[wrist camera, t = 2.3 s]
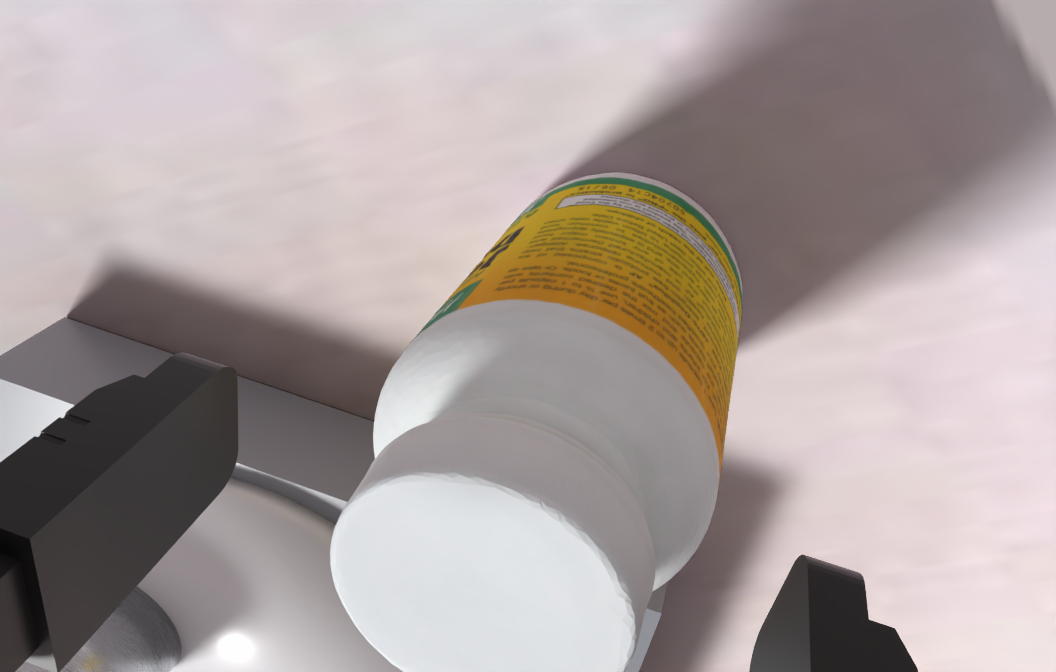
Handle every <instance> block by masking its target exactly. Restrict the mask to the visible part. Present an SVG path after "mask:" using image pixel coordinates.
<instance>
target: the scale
mask: <svg viewBox="0 0 1056 672" xmlns="http://www.w3.org/2000/svg"><path fill="white" fill-rule="evenodd" d="M173 355H174V354H172V353H169V352H166V351H163V350H160V349H157V348H154V347H151V346H148V345H145V344H142V343H139V342H137V341H134V340H131V339H128V338H125V337H122V336H119V335H116V334H113V333H110V332H107V331H104V330H101V329H98V328H95V327H92V326H89V325H86V324H83V323H80V322H77V321H74V320H71V319H68V318H65V317H64V318H63V319H61V320H59V321H58V322H56V323H54V324H53V325H51V326H49V327H48V328H46V329H44V330H43V331H41V332H39V333H38V334H36V335H34V336H33V337H31V338H29V339H28V340H26V341H24V342H23V343H21V344H19V345H18V346H16V347H14V348H13V349H11V350H9V351H7V352H6V353H4V354H2V355H1V356H0V462H1V461H3V460H4V459H5V458H7V457H8V456H9V455H11V454H12V453H13V452H15V451H16V450H17V449H18V448H20V447H21V446H22V445H24V444H25V443H26V442H28V441H29V440H30V439H32V438H33V437H34V436H36V437H39V436H40V434H41V431H42V430H43V429H45V428H46V427H47V426H49V425H50V424H51V423H52V422H54V421H55V420H56V419H58V418H59V417H61V418H64V416H65V413H66V412H67V411H68V410H69V409H71V408H72V407H73V406H75V405H76V404H77V403H79V402H80V401H81V400H83V399H84V398H85V397H86V396H88V395H89V394H90V393H92V392H93V391H94V390H96V389H99V388H101V387H104V386H106V385H109V384H111V383H114V382H116V381H119V380H121V379H124V378H126V377H129V376H131V375H137V376H140V377H143V378H145V377H146V376H147V375H149V374H150V373H151V372H152V371H154V370H155V369H156V368H157V367H159V366H160V365H161V364H162V363H164V362H165V361H166V360H167V359H169V358H170V357H171V356H173ZM237 382H238V457H237V461H236V465H235V468H234V470H233V473H232V475H231V477H230V479H229V481H228V483H227V484H226V486H225V487H224V489H223V490H222V491H221V493H220V494H219V495H218V496H217V497H216V498H215V499H214V501H213V502H212V503H211V504H210V505H209V506H208V507H207V508H206V510H205V511H204V512H203V513H202V514H201V515H200V516H199V517H198V518H197V520H196V521H195V522H194V523H193V524H192V525H191V526H190V527H189V528H188V530H187V531H186V532H185V533H184V534H183V535H182V536H181V537H180V538H179V540H178V541H177V542H176V543H175V544H174V545H173V546H172V547H171V549H170V550H169V551H168V552H167V553H166V554H165V555H164V556H163V557H162V559H161V560H160V561H159V562H158V563H157V564H156V565H155V566H154V567H153V569H152V570H151V571H150V572H149V573H148V574H147V575H146V576H145V578H144V579H143V580H142V581H141V582H140V583H139V584H138V585H137V587H138V588H140V589H141V590H142V591H144V592H145V593H146V594H148V595H149V596H150V597H151V598H152V599H153V600H154V601H155V602H157V603H158V604H159V605H160V607H161V608H162V609H163V610H164V611H165V612H166V614H167V615H168V616H169V618H170V619H171V621H172V622H173V624H174V626H175V627H176V630H177V632H178V634H179V637H180V641H181V656H180V659H179V661H178V662H177V664H176V665H175V666H174V667H173V669H172V670H171V671H170V672H403V671H402V670H400V669H399V668H397V667H396V666H394V665H393V664H391V663H390V662H389V661H388V660H387V659H386V658H385V657H384V656H383V655H382V654H381V653H379V652H378V651H377V650H376V649H375V648H374V647H373V646H372V645H371V644H370V643H369V642H368V641H367V640H366V638H365V637H364V636H363V635H362V633H361V632H360V631H359V630H358V628H357V627H356V626H355V624H354V623H353V621H352V619H351V618H350V616H349V614H348V613H347V611H346V609H345V607H344V606H343V604H342V602H341V600H340V598H339V595H338V593H337V591H336V588H335V585H334V582H333V577H332V571H331V565H330V547H331V540H332V536H333V532H334V528H335V525H336V523H337V521H338V519H339V517H340V515H341V513H342V511H343V509H344V507H345V506H346V504H347V503H348V501H349V500H350V498H351V497H352V495H353V494H354V492H355V491H356V489H357V487H358V486H359V484H360V483H361V481H362V480H363V478H364V477H365V475H366V474H367V472H368V470H369V468H370V466H371V464H372V462H373V461H374V460H375V455H374V446H373V430H374V421H371V420H368V419H365V418H362V417H359V416H356V415H353V414H350V413H347V412H344V411H341V410H338V409H335V408H332V407H329V406H326V405H323V404H320V403H317V402H314V401H311V400H308V399H306V398H303V397H300V396H297V395H294V394H291V393H288V392H285V391H282V390H279V389H276V388H273V387H270V386H267V385H264V384H261V383H258V382H255V381H252V380H249V379H246V378H243V377H240V376H237ZM667 584H668V581H667V582H666V583H665V584H663V585H662V586H660V587H659V588H658V589H656V590H654V591H653V592H652V595H651V598H650V600H649V602H648V604H647V607H646V611H645V615H644V619H643V624H642V628H641V632H640V636H639V640H638V644H637V647H636V651H635V653H634V655H633V658H632V660H631V662H630V663H629V665H628V667H627V669H626V671H625V672H639V670H640V668H641V665H642V663H643V660H644V658H645V655H646V653H647V650H648V648H649V645H650V642H651V640H652V637H653V635H654V632H655V630H656V627H657V625H658V622H659V620H660V617H661V615H662V610H663V605H664V600H665V595H666V589H667Z"/></svg>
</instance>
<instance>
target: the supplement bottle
mask: <svg viewBox="0 0 1056 672" xmlns="http://www.w3.org/2000/svg"><path fill="white" fill-rule="evenodd" d="M742 306H743V290H742V281H741V276H740V272H739V268H738V265H737V262H736V259H735V257H734V254H733V252H732V249H731V247H730V245H729V243H728V241H727V239H726V237H725V236H724V234H723V232H722V231H721V229H720V228H719V226H718V225H717V224H716V222H715V221H714V220H713V219H712V217H711V216H710V215H709V214H708V213H707V212H706V211H705V210H704V209H703V208H702V207H701V206H700V205H698V204H697V203H696V202H695V201H694V200H692V199H691V198H690V197H688V196H687V195H685V194H683V193H682V192H680V191H679V190H677V189H675V188H673V187H671V186H670V185H667V184H665V183H662V182H660V181H658V180H654V179H650V178H647V177H643V176H639V175H636V174H630V173H620V172H612V173H603V174H595V175H588V176H584V177H581V178H578V179H574V180H571V181H569V182H566V183H564V184H561V185H559V186H557V187H555V188H553V189H551V190H550V191H548V192H546V193H545V194H543V195H542V196H540V197H539V198H538V199H536V200H535V201H534V202H533V203H531V204H530V205H529V206H528V207H527V208H526V209H525V210H524V211H523V212H522V213H521V214H520V216H519V217H518V218H517V219H516V220H515V221H514V222H513V223H512V225H511V226H510V227H509V228H508V229H507V230H506V232H505V233H504V234H503V235H502V237H501V238H500V239H499V240H498V241H497V243H496V244H495V245H494V246H493V247H492V248H491V250H490V251H489V252H488V253H487V254H486V255H485V257H484V258H483V260H482V261H481V262H480V263H479V264H478V265H477V266H476V267H475V268H474V269H473V271H472V272H471V273H470V275H469V276H468V277H467V278H466V279H465V280H464V281H463V283H462V284H461V285H460V286H459V287H458V288H457V289H456V291H455V292H454V293H453V294H452V295H451V296H450V297H449V299H448V300H447V301H446V302H445V303H444V305H443V306H442V307H441V308H440V309H439V310H438V311H437V312H436V314H435V315H434V316H433V317H432V319H431V320H430V321H429V322H428V323H427V324H426V325H425V327H424V328H423V329H422V330H421V331H420V333H419V334H418V335H417V336H416V337H415V338H414V339H413V340H412V342H411V343H410V344H409V345H408V347H407V348H406V349H405V350H404V352H403V353H402V355H401V356H400V358H399V359H398V360H397V362H396V363H395V365H394V366H393V367H392V369H391V371H390V373H389V375H388V377H387V379H386V381H385V384H384V386H383V388H382V390H381V393H380V397H379V400H378V404H377V408H376V413H375V419H374V430H373V446H374V455H375V460H374V461H373V462H372V464H371V466H370V468H369V470H368V472H367V474H366V475H365V477H364V478H363V480H362V481H361V483H360V484H359V486H358V487H357V489H356V491H355V492H354V494H353V495H352V497H351V498H350V500H349V501H348V503H347V504H346V506H345V507H344V509H343V511H342V513H341V515H340V517H339V519H338V521H337V523H336V525H335V528H334V532H333V536H332V540H331V547H330V565H331V571H332V577H333V582H334V585H335V588H336V591H337V593H338V595H339V598H340V600H341V602H342V604H343V606H344V607H345V609H346V611H347V613H348V614H349V616H350V618H351V619H352V621H353V623H354V624H355V626H356V627H357V628H358V630H359V631H360V632H361V633H362V635H363V636H364V637H365V638H366V640H367V641H368V642H369V643H370V644H371V645H372V646H373V647H374V648H375V649H376V650H377V651H378V652H379V653H381V654H382V655H383V656H384V657H385V658H386V659H387V660H388V661H389V662H390V663H391V664H393V665H394V666H396V667H397V668H399V669H400V670H402V671H403V672H625V671H626V669H627V667H628V665H629V663H630V662H631V660H632V658H633V655H634V653H635V651H636V647H637V644H638V640H639V636H640V632H641V628H642V624H643V619H644V615H645V611H646V607H647V604H648V602H649V600H650V598H651V595H652V592H653V591H654V590H656V589H658V588H659V587H660V586H662V585H663V584H665V583H666V582H667V581H669V580H670V579H671V578H672V577H673V576H674V575H675V574H677V573H678V572H679V571H680V570H681V569H682V568H683V566H684V565H685V564H686V563H687V562H688V561H689V560H690V558H691V557H692V556H693V554H694V553H695V552H696V550H697V548H698V547H699V545H700V543H701V542H702V540H703V538H704V536H705V534H706V532H707V530H708V527H709V524H710V522H711V518H712V515H713V512H714V509H715V504H716V499H717V494H718V489H719V483H720V474H721V466H722V458H723V450H724V442H725V434H726V426H727V418H728V411H729V403H730V396H731V389H732V383H733V376H734V369H735V360H736V353H737V346H738V339H739V333H740V326H741V319H742Z"/></svg>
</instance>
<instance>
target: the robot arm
mask: <svg viewBox="0 0 1056 672" xmlns="http://www.w3.org/2000/svg"><path fill="white" fill-rule="evenodd" d="M237 457H238V382H237V375H236V372H235V370H234V369H233V368H231V367H228V366H225V365H222V364H219V363H216V362H213V361H210V360H207V359H204V358H201V357H198V356H194V355H191V354H188V353H185V352H180V353H176V354H174V355H173V356H171V357H170V358H169V359H167V360H166V361H165V362H164V363H162V364H161V365H160V366H159V367H157V368H156V369H155V370H154V371H152V372H151V373H150V374H149V375H147V376H146V377H145V378H143V377H140V376H137V375H131V376H129V377H126V378H124V379H121V380H119V381H116V382H114V383H111V384H109V385H106V386H104V387H101V388H99V389H96V390H94V391H93V392H92V393H90V394H89V395H88V396H86V397H85V398H84V399H83V400H81V401H80V402H79V403H77V404H76V405H75V406H73V407H72V408H71V409H69V410H68V411H67V412H66V413H65V416H64V418H61V417H59V418H58V419H56V420H55V421H54V422H52V423H51V424H50V425H49V426H47V427H46V428H45V429H43V430H42V431H41V434H40V436H39V437H36V436H34V437H33V438H32V439H30V440H29V441H28V442H26V443H25V444H24V445H22V446H21V447H20V448H18V449H17V450H16V451H15V452H13V453H12V454H11V455H9V456H8V457H7V458H5V459H4V460H3V461H1V462H0V672H15V671H16V670H17V669H18V668H19V667H20V666H21V665H22V664H23V663H24V662H25V661H26V662H28V663H31V664H33V665H36V666H38V667H41V668H44V669H46V670H49V671H51V672H60V671H61V670H62V669H63V668H64V667H65V666H66V664H67V663H68V662H69V661H70V660H71V659H72V658H73V657H74V656H75V654H76V653H77V652H78V651H79V650H80V649H81V648H82V647H83V646H84V644H85V643H86V642H87V641H88V640H89V639H90V638H91V637H92V635H93V634H94V633H95V632H96V631H97V630H98V629H99V628H100V627H101V625H102V624H103V623H104V622H105V621H106V620H107V619H108V618H109V617H110V615H111V614H112V613H113V612H114V611H115V610H116V609H117V608H118V606H119V605H120V604H121V603H122V602H123V601H124V600H125V599H126V598H127V596H128V595H129V594H130V593H131V592H132V591H133V590H134V589H135V588H136V586H137V585H138V584H139V583H140V582H141V581H142V580H143V579H144V578H145V576H146V575H147V574H148V573H149V572H150V571H151V570H152V569H153V567H154V566H155V565H156V564H157V563H158V562H159V561H160V560H161V559H162V557H163V556H164V555H165V554H166V553H167V552H168V551H169V550H170V549H171V547H172V546H173V545H174V544H175V543H176V542H177V541H178V540H179V538H180V537H181V536H182V535H183V534H184V533H185V532H186V531H187V530H188V528H189V527H190V526H191V525H192V524H193V523H194V522H195V521H196V520H197V518H198V517H199V516H200V515H201V514H202V513H203V512H204V511H205V510H206V508H207V507H208V506H209V505H210V504H211V503H212V502H213V501H214V499H215V498H216V497H217V496H218V495H219V494H220V493H221V491H222V490H223V489H224V487H225V486H226V484H227V483H228V481H229V479H230V477H231V475H232V473H233V470H234V468H235V465H236V461H237ZM749 672H918V670H917V667H916V665H915V664H914V662H913V660H912V658H911V656H910V655H909V653H908V651H907V649H906V648H905V646H904V644H903V642H902V640H901V639H900V637H899V635H898V633H897V632H896V630H895V628H892V627H889V626H886V625H883V624H880V623H877V622H874V621H871V620H869V618H868V609H867V600H866V591H865V583H864V579H863V576H862V575H861V574H860V573H858V572H855V571H852V570H849V569H846V568H842V567H839V566H836V565H833V564H830V563H827V562H824V561H821V560H818V559H815V558H812V557H809V556H805V555H801V556H799V557H798V558H797V560H796V561H795V563H794V565H793V566H792V568H791V570H790V572H789V574H788V576H787V578H786V580H785V582H784V584H783V586H782V588H781V590H780V592H779V594H778V596H777V598H776V600H775V602H774V604H773V606H772V608H771V610H770V612H769V613H768V615H767V617H766V619H765V621H764V623H763V625H762V627H761V629H760V632H759V634H758V637H757V640H756V643H755V646H754V650H753V654H752V659H751V664H750V671H749Z"/></svg>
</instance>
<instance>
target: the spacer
mask: <svg viewBox="0 0 1056 672" xmlns="http://www.w3.org/2000/svg"><path fill="white" fill-rule="evenodd" d="M180 656H181V641H180V637H179V634H178V632H177V630H176V627H175V626H174V624H173V622H172V621H171V619H170V618H169V616H168V615H167V614H166V612H165V611H164V610H163V609H162V608H161V607H160V605H159V604H158V603H157V602H155V601H154V600H153V599H152V598H151V597H150V596H149V595H148V594H146V593H145V592H144V591H142V590H141V589H140V588H138V587H137V586H136V588H135V589H134V590H133V591H132V592H131V593H130V594H129V595H128V596H127V598H126V599H125V600H124V601H123V602H122V603H121V604H120V605H119V606H118V608H117V609H116V610H115V611H114V612H113V613H112V614H111V615H110V617H109V618H108V619H107V620H106V621H105V622H104V623H103V624H102V625H101V627H100V628H99V629H98V630H97V631H96V632H95V633H94V634H93V635H92V637H91V638H90V639H89V640H88V641H87V642H86V643H85V644H84V646H83V647H82V648H81V649H80V650H79V651H78V652H77V653H76V654H75V656H74V657H73V658H72V659H71V660H70V661H69V662H68V663H67V664H66V666H65V667H64V668H63V669H62V670H61V671H60V672H170V671H171V670H172V669H173V667H174V666H175V665H176V664H177V662H178V661H179V659H180ZM15 672H51V671H49V670H46V669H44V668H41V667H38V666H36V665H33V664H31V663H28V662H26V661H25V662H24V663H23V664H22V665H21V666H20V667H19V668H18V669H17V670H16V671H15Z"/></svg>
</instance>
